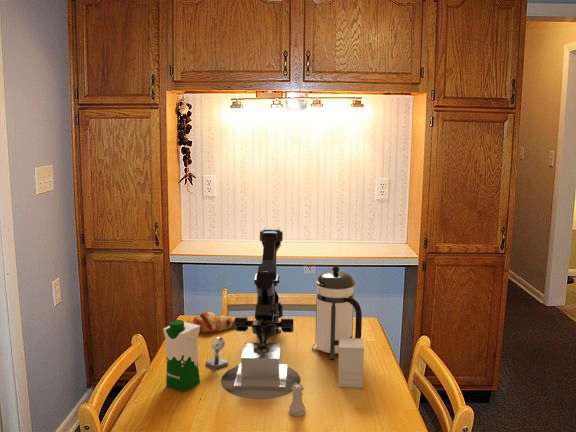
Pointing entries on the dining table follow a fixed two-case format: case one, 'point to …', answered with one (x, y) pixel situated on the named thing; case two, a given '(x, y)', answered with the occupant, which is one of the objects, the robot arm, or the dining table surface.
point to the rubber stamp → (217, 354)
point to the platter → (229, 381)
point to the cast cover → (261, 368)
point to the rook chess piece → (297, 401)
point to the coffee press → (335, 311)
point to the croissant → (212, 322)
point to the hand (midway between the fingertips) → (262, 349)
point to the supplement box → (350, 362)
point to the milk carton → (182, 355)
